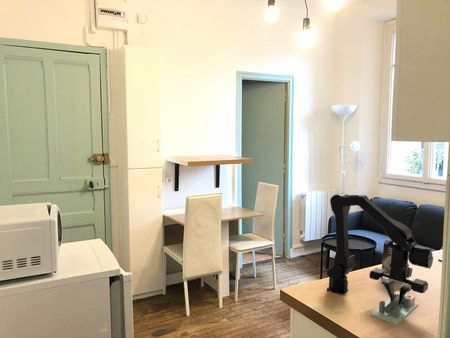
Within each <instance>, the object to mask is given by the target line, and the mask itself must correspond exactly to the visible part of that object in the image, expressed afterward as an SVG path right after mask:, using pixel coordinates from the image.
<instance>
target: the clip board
mask: <svg viewBox="0 0 450 338" xmlns="http://www.w3.org/2000/svg"><path fill="white" fill-rule="evenodd" d="M399 292H400V290H396V291H394V299H395V298H396V297H397V293H399ZM390 302H392V301H391V299H390V298H389V299H388V300H387V301H383V300H381V301H379V302H378V303H379V304H378V308H377V309H375V310H373V312H372V313H370V315H371V316H372V317H375V318H377V319H381V320H383V321H386V322H388V323H392V324H395V325H399V324H400V323H401V322H402V321H403V320H404V319H406V317H408V315H409V314H410V313H411V312H413V310H414V309H416V308H417V306H418V305H419V304H418V302H416V296H415V295H412V294H409V295H408V297H406V298H405V303H404V302H402V303H401V304H400V305H399V306H396V307H395V308H394V310H393V311H392V312H391V313H389V314H388V313H385V311H384V308H385V307H386V306H387V305H388V304H389V303H390Z"/></svg>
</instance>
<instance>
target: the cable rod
mask: <svg viewBox="0 0 450 338" xmlns="http://www.w3.org/2000/svg"><path fill="white" fill-rule="evenodd" d="M399 294H400V291H399V293H397V297H396V298H395V299H394V300H393V301H392V302H390V303H389V304H388V305H387V306H386V307H385V308H384V311H385V313H388V314H389V313H391V312H392V311H393V310H394V308H395V307H396V306H399V305H400V304H399ZM408 295H410V294H409V293H406V295H405V297H404V299H403V301H402V302H404V303H405V298H406V297H408Z"/></svg>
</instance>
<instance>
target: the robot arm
mask: <svg viewBox="0 0 450 338" xmlns="http://www.w3.org/2000/svg"><path fill="white" fill-rule="evenodd" d="M329 203H330V208H331V211H332V213H333V215H334V219H335V220H334V221H335V222H334V223H335V244H336V247H335V248H336V252H335V255H334V258H333V265H332V266H331V268H330V269H328V270H326V274H327V277H328V286H327V287H326V290H328V291H330V292H333V293H335V294H339V295H342V294H345V293H346V292H347V291H348V290H349V288H348V287H349V280H348V276H347V275H349V273H350V272H351V271H353V269H354V267H355V266H356V263H355V259H356V257H355V255H354V254H353V255H352V254H351V253H350V249H349V248H350V247H349V246H350V245H349V227H348V226H349V225H348V224H349V223H348V216H349V212H350V210H351V207H353V206H357V207H359V208H360V209H361V210H363V211H364V212H365V213H366V214H367V215H368V216H370V217H371V219H373V220H374V221H375V222H376V223H377V224H378V225H379V226H381V228H382V229H383V230H384V232H385V234H386V235H387V237H388V238H389V239H390V240H389V241H390V242H389V243H388V244H386V245H385V246H386V247H389V248H391V260H390V264H389V267H390V274H386V271H385V270H383V269H382V268H378V267H375V268H374V269H372V270H370V272H369V275H368V276H369V279H372V280H375V281H378V280H380V279H382V281H381V284H382V285H383V286H384V287H385V289H386V291H387V294H388V297H389V299H391V301H393V300H394V293H395V283H398V284H402V286H401V287H400V288H399V292H400V294H399V304H401V303H402V301H403V299H404V297H405V295H406V294H408V292H410V291H413V292H416V293H419V294H424V293H425V292H426V291H428V289H429V283H428V282H427V280H424V279H419V278H415V279H413V280H410V278H411V277H412V275H413V267H409V266H410V265H409V264H411V265H413V266H417V267H422V268H426V269H431V268H432V265H433V262H434V255H433V252H432V248H431V247H423V246H418V245H419V244H418V243H417V241H416V239H415V238H414V236H413V235H412V230H411V228H409V227H408V226H407V225H405V224H403V223H402V222H400V221H398V220H395V219H394V218H392V217H391V216H390V215H388V214H387V213H386V212H385V211H384V210H382V209H381V208H380V206H378V205H377V204H376V203H374V202H373V201H372V200H371V199H370V198H369V197H368V196H367V195H366V194H364V193H363V194H347V193H344V192H342V193H338V194H334V195H332V197H330V199H329Z"/></svg>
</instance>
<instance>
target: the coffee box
mask: <svg viewBox="0 0 450 338" xmlns="http://www.w3.org/2000/svg"><path fill="white" fill-rule="evenodd" d="M390 241H391V240H387V239H385V241H384V243H383V246H382V247H383V249H382V250H383V251H382V260H381V263H382V264H381V269H383V270H385V271H386V274H390V267H389V264H390V260H391V248H389V247H386V246H385V245H386V244H388V243H389V242H390Z"/></svg>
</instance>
